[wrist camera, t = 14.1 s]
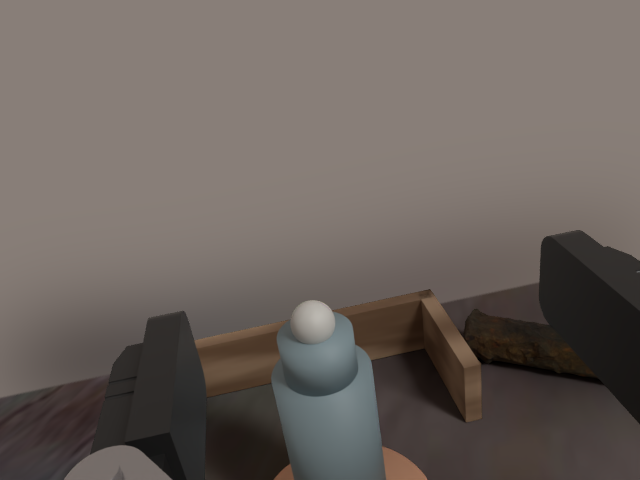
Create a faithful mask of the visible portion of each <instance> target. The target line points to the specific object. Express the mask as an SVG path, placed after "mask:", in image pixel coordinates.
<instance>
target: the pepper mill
mask: <svg viewBox="0 0 640 480" xmlns="http://www.w3.org/2000/svg"><path fill="white" fill-rule="evenodd" d="M277 344H278V349H279V354H280V359H279V361H278V362H277V363H276V365H275V367H274V369H273V371H272V376H271V382H272V386H273V391H274V395H275V399H276V404H277V408H278V412H279V417H280V421H281V425H282V430H283V434H284V438H285V443H286V447H287V451H288V456H289V460H290V464H291V469H292V473H293V477H294V480H386V473H385V465H384V457H383V449H382V441H381V434H380V426H379V418H378V410H377V402H376V394H375V386H374V378H373V370H372V363H371V360H370V358H369V356H368V354H367V353H366V352H365V351H364V350H363V349H362V348H360V347H359V346H357V345H355V340H354V333H353V327H352V324H351V322H350V321H349V319H348V318H346V317H345V316H344V315H342V314H339V313H336V312H332V310H331V309H330V308H329V307H328V306H327V305H326V304H324V303H323V302H320V301H316V300H310V301H306V302H303V303H301V304H300V305H299V306H297V308H296V309H295V310H294V311H293V313H292V316H291V319H290V320H289V321H287V322H286V323H285V324H284V325H283V326H282V327H281V328H280V330H279V331H278V334H277Z"/></svg>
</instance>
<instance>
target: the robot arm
mask: <svg viewBox="0 0 640 480" xmlns="http://www.w3.org/2000/svg"><path fill="white" fill-rule="evenodd" d="M539 301H540V306H541V309H542V312H543V315H544V317H545V319H546V320H547V322H548V323H549V324H550V325H551V326H552V327H553V329H554V330H555V331H556V332H557V333H558V334H559V335H560V336H561V337H562V338H563V340H564V341H565V342H566V343H567V344H568V345H569V346H570V347H571V348H572V350H573V351H574V352H575V353H576V354H577V355H578V356H579V357H580V358H581V359H582V361H583V362H584V363H585V364H586V365H587V366H588V367H589V368H590V369H591V371H592V372H593V373H594V374H595V375H596V376H597V377H598V378H599V379H600V381H601V382H602V383H603V384H604V385H605V386H606V387H607V388H608V389H609V390H610V392H611V393H612V394H613V395H614V396H615V397H616V398H617V399H618V400H619V402H620V403H621V404H622V405H623V406H624V407H625V408H626V409H627V410H628V411H629V413H630V414H631V415H632V416H633V417H634V418H635V419H636V420H637V421H638V423H639V424H640V261H638V260H637V259H636V258H634V257H633V256H631V255H629V254H626V253H624V252H621V251H618V250H616V249H613V248H611V247H608V246H607V247H603V246H602V245H600V244H599V243H598V242H596V241H595V240H594V239H592V238H591V237H590V236H588V235H587V234H585V233H584V232H583V231H580V230H576V231H571V232H566V233H562V234H557V235H552V236H547V237H545V238H544V239H543V241H542V245H541V259H540V283H539ZM206 401H207V394H206V383H205V377H204V372H203V368H202V365H201V361H200V358H199V355H198V351H197V348H196V345H195V341H194V338H193V335H192V331H191V328H190V325H189V321H188V318H187V316H186V313H185V312H184V311H180V312H175V313H170V314H165V315H160V316H156V317H151V318H149V319H148V321H147V326H146V331H145V337H144V342H143V343H140V344H136V345H131V346H127V347H126V348H125V350H124V351H123V352H122V354H121V355H120V356H119V357H118V359H117V360H116V361H115V362H114V364H113V367H112V371H111V374H110V378H109V386H107V390H106V394H105V401H104V402H103V406H102V410H101V414H100V418H99V422H98V426H97V430H96V434H95V437H94V441H93V445H92V449H91V453H90V455H89V456H88V457H86V458H84V459H83V460H82V461H81V462H79V463H78V464H77V465H76V466H75V467H74V468H73V469H72V470H71V471H70V472H69V473H68V475H67V476H66V478H65V479H64V480H205V444H206Z"/></svg>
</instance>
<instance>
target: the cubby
mask: <svg viewBox="0 0 640 480" xmlns="http://www.w3.org/2000/svg"><path fill="white" fill-rule="evenodd" d="M332 312H336V313H339V314H342V315H344V316H345V317H346V318H348V319H349V321H350V322H351V324H352V327H353V333H354V340H355V345H357V346H359V347H360V348H362V349H363V350H364V351H365V352H366V353H367V354H368V356H369V358H370V360H375V359H380V358H384V357H388V356H393V355H397V354H402V353H406V352H411V351H415V350H419V349H424V348H425V350H426V351H427V353H428V355H429V357H430V359H431V360H432V362H433V364H434V366H435V368H436V369H437V371H438V373H439V375H440V377H441V378H442V380H443V382H444V384H445V386H446V387H447V389H448V391H449V393H450V395H451V396H452V398H453V400H454V402H455V404H456V405H457V407H458V409H459V411H460V413H461V414H462V416H463V418H464V420H465V421H466V422H470V421H474V420H479V419H482V396H481V364H480V362H479V361H478V359H477V358H476V356H475V355H474V353H473V352H472V350H471V349H470V347H469V346H468V344H467V343H466V341H465V340H464V338H463V337H462V336H461V334H460V333H459V331H458V330H457V328H456V327H455V325H454V324H453V322H452V321H451V319H450V318H449V316H448V315H447V313H446V312H445V310H444V309H443V307H442V306H441V304H440V303H439V301H438V300H437V298H436V297H435V295H434V294H433V293H432V291H431V290H430V289H429V290H424V291H420V292H415V293H411V294H406V295H401V296H397V297H392V298H388V299H383V300H378V301H374V302H369V303H365V304H360V305H355V306H351V307H346V308H341V309H337V310H332ZM287 321H289V320H286V321H281V322H277V323H273V324H268V325H263V326H258V327H254V328H249V329H245V330H240V331H235V332H231V333H226V334H221V335H217V336H212V337H208V338H203V339H199V340H194V341H195V345H196V348H197V351H198V355H199V358H200V361H201V365H202V368H203V372H204V377H205V383H206V394H207V397H212V396H216V395H220V394H225V393H229V392H234V391H238V390H242V389H247V388H251V387H256V386H260V385H265V384H269V383H272V382H271V376H272V371H273V369H274V367H275V365H276V363H277V362H278V361H279V359H280V354H279V349H278V344H277V334H278V331H279V330H280V328H281V327H282V326H283V325H284V324H285V323H286V322H287Z"/></svg>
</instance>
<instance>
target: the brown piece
mask: <svg viewBox="0 0 640 480" xmlns="http://www.w3.org/2000/svg"><path fill="white" fill-rule="evenodd" d="M464 340H465V341H466V343H467V344H468V346H469V347H470V349H471V350H472V352H473V353H474V355H475V356H476V358H481V360H482V361H484V362H485V363H486V364H488V363H490V362H492V361H493V360H494V361H501V362H507V363H513V364H519V365H525V366H531V367H537V368H542V369H547V370H552V371H555V372H557V373H570V374H575V375H579V376H586V377H592V378H598V377H597V376H596V375H595V374H594V373H593V372H592V371H591V369H590V368H589V367H588V366H587V365H586V364H585V363H584V362H583V361H582V359H581V358H580V357H579V356H578V355H577V354H576V353H575V352H574V351H573V350H572V348H571V347H570V346H569V345H568V344H567V343H566V342H565V341H564V340H563V338H562V337H561V336H560V335H559V334H558V333H557V332H556V331H555V330H554V329H553V327H552V326H550V325H544V324H539V323H535V322H525V321H521V320H513V319H509V318H502V317H495V316H488V315H486V314H484V313H482V312H480V311H479V310H478V309H474V310H473V311H472V313H471V314H470V316H468V318H467V319H466V321H465V330H464ZM598 379H599V378H598Z"/></svg>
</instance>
